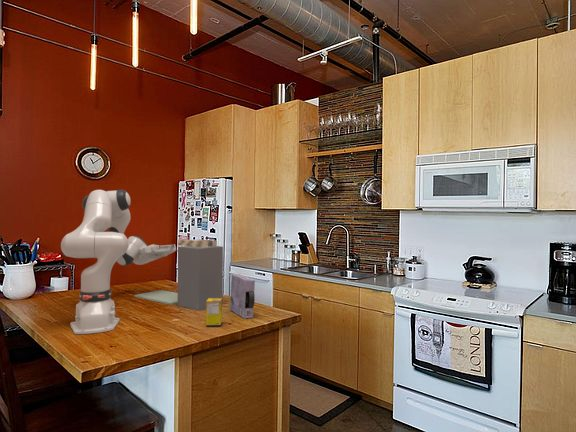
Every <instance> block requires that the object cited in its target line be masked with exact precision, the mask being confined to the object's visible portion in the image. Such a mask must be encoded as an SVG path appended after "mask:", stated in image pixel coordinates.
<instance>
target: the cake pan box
mask: <svg viewBox="0 0 576 432" xmlns="http://www.w3.org/2000/svg"><path fill="white" fill-rule="evenodd" d="M230 280H231V281H230V301H229V302H230V303H229V310H230V311H231V312H233V313H235V314H236V315H237V316H239V317H241V318H242V319H244V320H247V318H249V319H253V318H254V307H255V299H256V297H255V288H256V287H255V283H256V281H255V280H254V279H252V278H249V277H247V276H245V275H243V274H241V273H236V274H235V273H231V279H230Z"/></svg>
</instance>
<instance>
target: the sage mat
mask: <svg viewBox="0 0 576 432" xmlns="http://www.w3.org/2000/svg"><path fill="white" fill-rule="evenodd" d="M134 297H135V298H138V299H142V300H147V301H152V302H156V303H161V304H165V305H170V306H172V305H178V292H174V291H170V290H169V291H168V290H164V289H158V290H154V291H148V292H144V293H138V294H134Z"/></svg>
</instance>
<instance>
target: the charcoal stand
mask: <svg viewBox="0 0 576 432" xmlns="http://www.w3.org/2000/svg"><path fill="white" fill-rule="evenodd" d="M223 274H224V247H223V246H218V245H217V246H216V247H209V246H208V247H193V246H182V245H181V246H177V293H178V304H177V307H181V308H187V309H189V310H194V311H202V310H203V311H204V310H206V301H207V300H208V299H209V298H222V305H223V298H224V297H223V294H224V290H223V289H224V286H223V285H224V282H223V281H224V275H223Z"/></svg>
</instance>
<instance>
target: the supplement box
mask: <svg viewBox="0 0 576 432" xmlns="http://www.w3.org/2000/svg"><path fill="white" fill-rule="evenodd" d="M205 311H206V312H205V314H206V315H205V316H206V318H205V322H206V325H205V327H206V328H210V327H211V328H213V327H219V328H220V327H221V326H222V324H223V304H222V298H209V299H208V300H207V301H206V309H205Z"/></svg>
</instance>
